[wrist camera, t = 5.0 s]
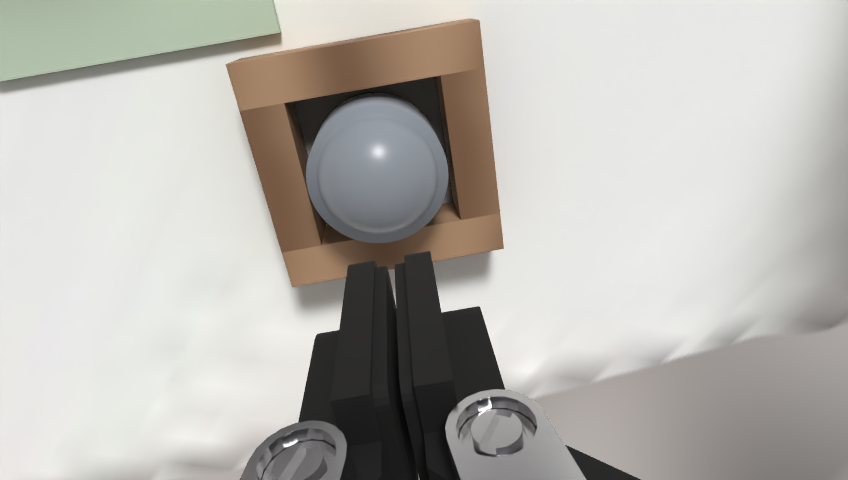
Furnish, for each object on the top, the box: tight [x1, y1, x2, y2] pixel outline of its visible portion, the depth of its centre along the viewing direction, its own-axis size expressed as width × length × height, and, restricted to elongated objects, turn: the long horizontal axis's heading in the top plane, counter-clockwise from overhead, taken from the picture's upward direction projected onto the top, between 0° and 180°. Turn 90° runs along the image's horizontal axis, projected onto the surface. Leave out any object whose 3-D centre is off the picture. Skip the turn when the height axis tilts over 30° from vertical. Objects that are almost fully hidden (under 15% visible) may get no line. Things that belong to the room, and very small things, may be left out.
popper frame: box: [226, 19, 504, 287], centre depth 24 cm, size 10×10×2 cm
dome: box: [306, 93, 449, 243], centre depth 22 cm, size 6×6×5 cm
